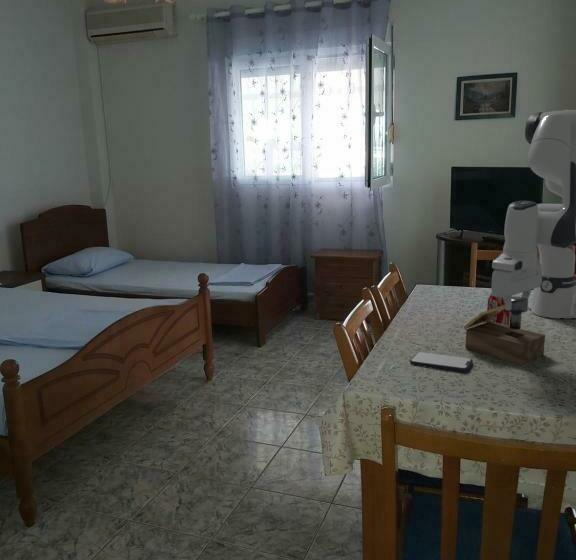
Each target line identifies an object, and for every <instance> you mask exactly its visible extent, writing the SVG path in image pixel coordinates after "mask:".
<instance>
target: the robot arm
mask: <svg viewBox="0 0 576 560" xmlns="http://www.w3.org/2000/svg"><path fill="white" fill-rule="evenodd" d="M523 131H524V137H525V140H526V142H527V143H528V144H529V145H530V146H529V149H528V156H527V161H528V162H527V163H528V166H529V168H530V169H531V171H532V172H533V173H534V174H536V176H538V177H540V178H542V179H545V186H546V188H547V190H549V192H551V193H553V194H555V195H556V196H559V197H561V198H562V203H537V202H535V201H532V200H517V201H513V202H512V203H509V205H508V207H507V211H506V214H505V215H506V216H505V221H504V231H503V234H504V244H503V248H502V249H503V250H502V253H501V254H499V256H497V258H496V259H494V260H493V261H492V263H491V268H492V269H493V272H492V274H491V275H492V276H491V293H492V294H493V296H495V297H500V298H503V300H504V303H505V309H506V310H512V309H513V306H514V304H512V301H511V299H512V297H514V296H515V295H518V294H521V297H522V298H526V299H528V300H529V298H530V296H531V294H532V298H531V302H530V303H531V304H528V308H529V309H528V310H530V309H531V310H530V311H531V313H532V314H534V315H536V316H539V317H544V318H548V317H549V318H550V319H560V318H564V319H572V318H576V274H575V263H576V254H575V253H574V251H573V250H572V249H571V248H569V247H571V246H573V245H575V244H576V109H563V110H553V111H547V112H546V111H545V112H543V111H540V112H535V113H533V114H531V115H530V116H528V118H527V120H526V122H525V125H524V130H523ZM538 252H539V256H538ZM549 318H548V319H549Z"/></svg>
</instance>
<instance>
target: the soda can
mask: <svg viewBox="0 0 576 560" xmlns="http://www.w3.org/2000/svg"><path fill="white" fill-rule="evenodd" d="M503 305H505V303H504V300H503V298H500V297H495V296H493V294H492V292H490V293H489V296H488V298H487V306H486V311H488V310H491V309H494V308H497V307H500V306H503ZM489 321H491V322H495V323H499V324H503V325H507V326H509V325H510V311H507V310H505V308H504V309H503V310H502V311H501V312H499V313H498V314H497V315H496V316H494V317H493V318H492V319H490V320H489ZM489 321H487V322H489Z"/></svg>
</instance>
